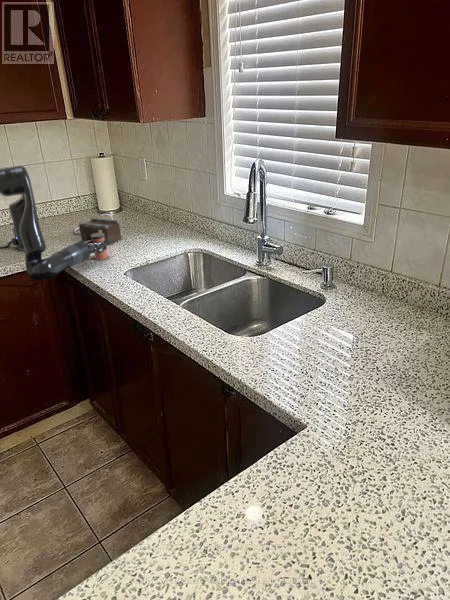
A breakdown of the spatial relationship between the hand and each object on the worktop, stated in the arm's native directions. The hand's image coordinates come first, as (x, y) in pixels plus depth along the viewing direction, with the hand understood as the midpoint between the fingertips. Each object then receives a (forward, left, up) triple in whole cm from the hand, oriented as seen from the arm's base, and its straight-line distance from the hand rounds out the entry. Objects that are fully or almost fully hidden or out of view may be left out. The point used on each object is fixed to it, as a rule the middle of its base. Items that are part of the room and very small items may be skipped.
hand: (103, 241), depth 186 cm
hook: (-31, +29, -7) cm, 43 cm away
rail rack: (-16, +17, -7) cm, 24 cm away
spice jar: (0, -3, -7) cm, 7 cm away
